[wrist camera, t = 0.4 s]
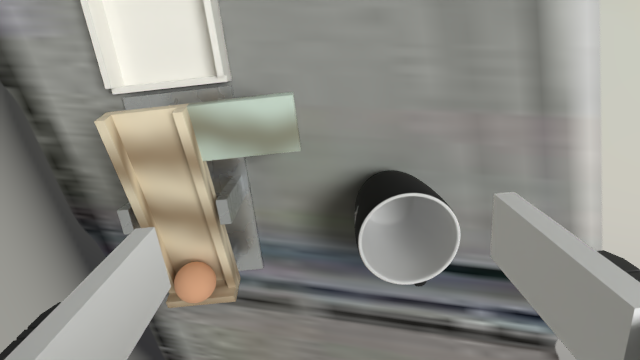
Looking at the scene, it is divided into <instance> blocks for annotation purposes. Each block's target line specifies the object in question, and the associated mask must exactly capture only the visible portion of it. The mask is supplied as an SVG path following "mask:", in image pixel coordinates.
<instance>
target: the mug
mask: <svg viewBox="0 0 640 360" xmlns="http://www.w3.org/2000/svg"><path fill="white" fill-rule="evenodd" d="M355 235H356V242H357V247H358V251H359V254H360V256H361V259H362V261H363V262H364V264H365V265H366V267H367V268H368V269H369V270H370V271H371V272H372V273H373V274H374V275H376V276H377V277H379V278H380V279H382V280H385V281H387V282H390V283H394V284H403V285H407V284H415V286H422V285H424V284H425V283H426V280H429V279H431V278H433V277H435V276H436V275H438V274H439V273H441V272H442V271H443V270H444V269H445V268H446V267H447V266H448V265H449V264H450V263H451V261H452V260H453V258H454V257H455V255H456V253H457V250H458V247H459V243H460V227H459V223H458V220H457V218H456V216H455V214H454V212H453V211H452V209H451V208H450V207H449V205H448V204H447V203H446V202H445V201H444V200H443V199H442V198H441V197H440V196H439V195H438V194H437V193H436V192H435V191H433V190H432V189H431V188H430V187H428V186H427V185H426V184H424V183H423V182H422V181H420V180H418V179H417V178H415V177H413V176H411V175H409V174H407V173H404V172H400V171H384V172H381V173H378V174H376V175H374V176H372V177H371V178H370V179H368V180H367V181H366V182H365V183H364V185H363V186H362V188H361V189H360V191H359V194H358V196H357V200H356V205H355Z"/></svg>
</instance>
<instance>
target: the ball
mask: <svg viewBox="0 0 640 360" xmlns="http://www.w3.org/2000/svg"><path fill="white" fill-rule="evenodd" d="M215 287H216V275H215V272H214V271H213V269H212V268H211V267H210V266H209V265H207V264H205V263H203V262H191V263H188V264H186V265H185V266H183V267H182V268H181V269H180V270H179V271H178V273H177V274H176V276H175V280H174V289H175V292H176V294H177V295H178V297H179V298H180V299H181V300H183V301H185V302H187V303H199V302H202V301H204V300H206V299H207V298H209V297H210V296H211V294H212V293H213V291H214V289H215Z"/></svg>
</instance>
